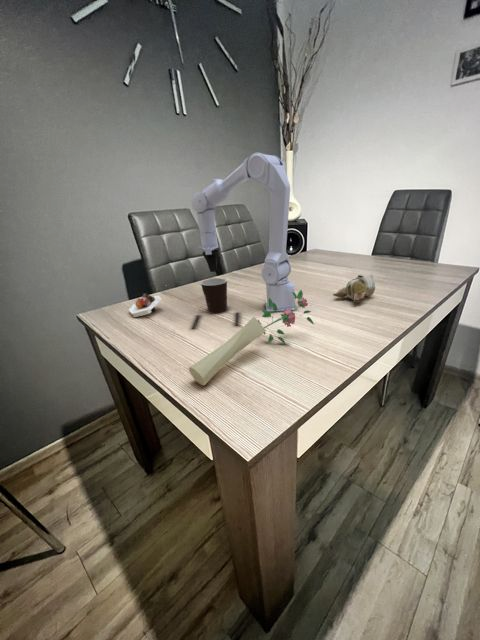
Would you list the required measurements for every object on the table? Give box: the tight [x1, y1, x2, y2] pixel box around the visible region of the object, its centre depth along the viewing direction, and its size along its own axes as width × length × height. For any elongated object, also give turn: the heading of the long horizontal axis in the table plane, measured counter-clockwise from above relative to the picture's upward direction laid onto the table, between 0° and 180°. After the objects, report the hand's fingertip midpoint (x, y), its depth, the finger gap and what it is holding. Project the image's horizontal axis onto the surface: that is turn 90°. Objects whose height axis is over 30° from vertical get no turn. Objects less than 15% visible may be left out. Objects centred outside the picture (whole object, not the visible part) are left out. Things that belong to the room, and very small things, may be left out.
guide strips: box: [191, 312, 240, 330], centre depth 87 cm, size 14×10×1 cm
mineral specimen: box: [128, 292, 163, 318], centre depth 95 cm, size 12×12×7 cm
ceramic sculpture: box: [332, 274, 376, 303], centre depth 96 cm, size 11×9×15 cm
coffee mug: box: [200, 277, 228, 314], centre depth 94 cm, size 12×9×10 cm
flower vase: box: [188, 289, 315, 386], centre depth 66 cm, size 12×12×35 cm
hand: (213, 271), depth 102 cm, fingers closed
